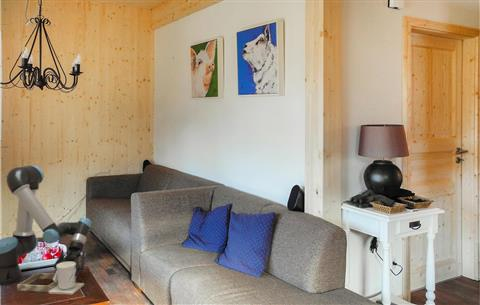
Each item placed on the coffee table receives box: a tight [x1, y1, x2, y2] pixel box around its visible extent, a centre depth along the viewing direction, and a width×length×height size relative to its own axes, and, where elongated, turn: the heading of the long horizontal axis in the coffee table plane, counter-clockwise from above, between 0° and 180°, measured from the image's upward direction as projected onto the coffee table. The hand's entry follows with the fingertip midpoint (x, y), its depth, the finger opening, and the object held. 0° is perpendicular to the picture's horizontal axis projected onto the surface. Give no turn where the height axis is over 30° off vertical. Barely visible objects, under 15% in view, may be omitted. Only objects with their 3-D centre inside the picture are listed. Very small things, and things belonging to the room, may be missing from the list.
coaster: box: [48, 282, 85, 296], centre depth 223 cm, size 13×13×1 cm
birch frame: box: [16, 272, 58, 293], centre depth 229 cm, size 18×18×3 cm
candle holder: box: [56, 262, 77, 289], centre depth 223 cm, size 10×10×12 cm
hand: (63, 281), depth 220 cm, fingers closed on candle holder, 9 cm apart
